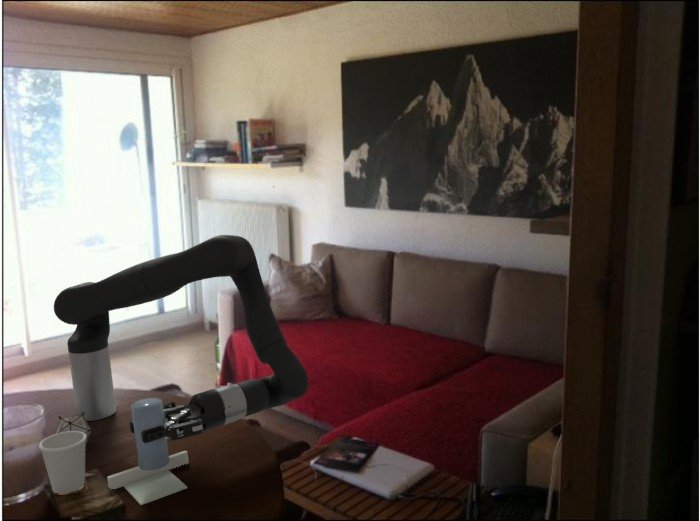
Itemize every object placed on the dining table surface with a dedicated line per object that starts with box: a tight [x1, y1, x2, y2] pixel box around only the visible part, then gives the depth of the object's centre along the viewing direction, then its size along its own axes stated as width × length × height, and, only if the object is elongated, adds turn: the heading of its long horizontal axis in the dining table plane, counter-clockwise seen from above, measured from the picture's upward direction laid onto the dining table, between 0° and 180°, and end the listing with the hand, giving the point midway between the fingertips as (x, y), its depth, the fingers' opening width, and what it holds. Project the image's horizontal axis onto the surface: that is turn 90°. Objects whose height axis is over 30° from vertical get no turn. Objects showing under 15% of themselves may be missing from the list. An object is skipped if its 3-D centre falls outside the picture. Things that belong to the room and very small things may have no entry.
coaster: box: [123, 470, 188, 506], centre depth 124 cm, size 9×9×1 cm
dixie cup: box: [38, 431, 86, 494], centre depth 125 cm, size 8×8×10 cm
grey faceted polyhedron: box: [54, 412, 95, 452], centre depth 142 cm, size 9×8×10 cm
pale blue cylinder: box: [130, 397, 170, 471], centre depth 123 cm, size 6×6×12 cm
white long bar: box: [106, 450, 190, 490], centre depth 129 cm, size 1×16×2 cm, turn 128°
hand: (136, 432), depth 121 cm, fingers closed on pale blue cylinder, 5 cm apart
